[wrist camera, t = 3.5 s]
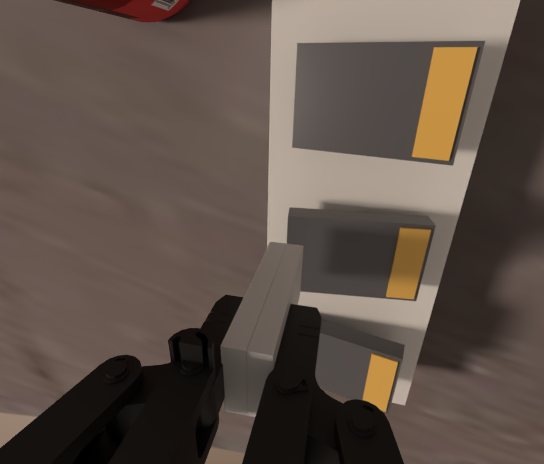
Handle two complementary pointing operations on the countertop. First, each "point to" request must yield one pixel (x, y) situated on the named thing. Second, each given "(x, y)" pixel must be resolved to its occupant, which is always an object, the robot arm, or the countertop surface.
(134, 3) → the canned food
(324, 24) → the rocker switch panel
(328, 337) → the block
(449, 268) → the countertop surface
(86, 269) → the countertop surface
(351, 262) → the rocker middle
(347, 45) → the rocker
